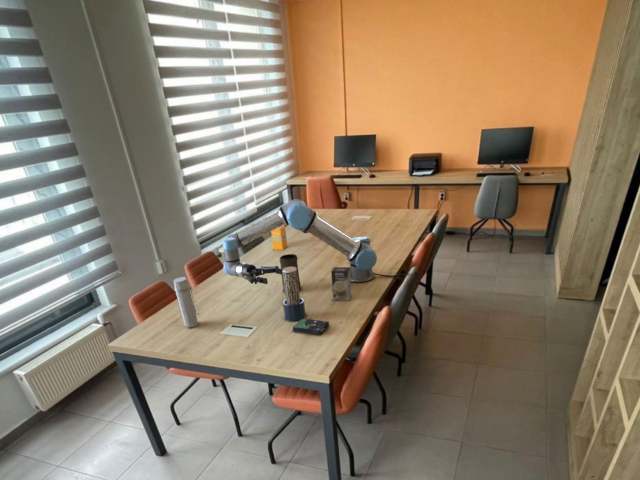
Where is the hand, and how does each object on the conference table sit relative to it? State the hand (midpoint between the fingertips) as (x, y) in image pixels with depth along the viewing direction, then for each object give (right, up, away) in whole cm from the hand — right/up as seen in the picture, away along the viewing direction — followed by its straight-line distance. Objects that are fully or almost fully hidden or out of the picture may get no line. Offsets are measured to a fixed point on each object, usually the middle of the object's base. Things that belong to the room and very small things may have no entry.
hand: (276, 276), depth 226 cm
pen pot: (+10, -19, +6) cm, 22 cm away
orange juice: (0, +53, +108) cm, 121 cm away
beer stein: (+9, +4, +39) cm, 40 cm away
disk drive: (+17, -28, -8) cm, 34 cm away
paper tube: (+10, -19, +6) cm, 22 cm away
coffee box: (+35, -6, +18) cm, 40 cm away
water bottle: (-44, -22, +14) cm, 51 cm away
